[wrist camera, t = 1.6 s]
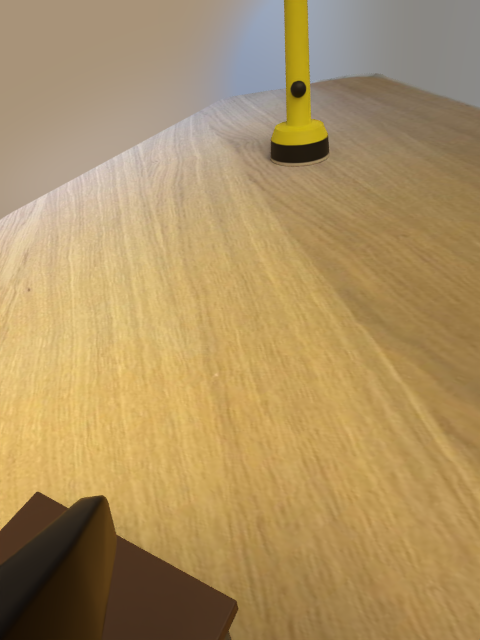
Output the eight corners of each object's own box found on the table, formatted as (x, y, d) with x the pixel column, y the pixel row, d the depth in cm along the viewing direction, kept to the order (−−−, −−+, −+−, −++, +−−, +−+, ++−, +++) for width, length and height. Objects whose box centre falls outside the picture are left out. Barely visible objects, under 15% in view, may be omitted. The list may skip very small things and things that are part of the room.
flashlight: (261, -48, 58) (253, -50, 51) (331, -58, 57) (333, -62, 50) (272, 149, 73) (268, 167, 66) (328, 145, 72) (329, 164, 65)
